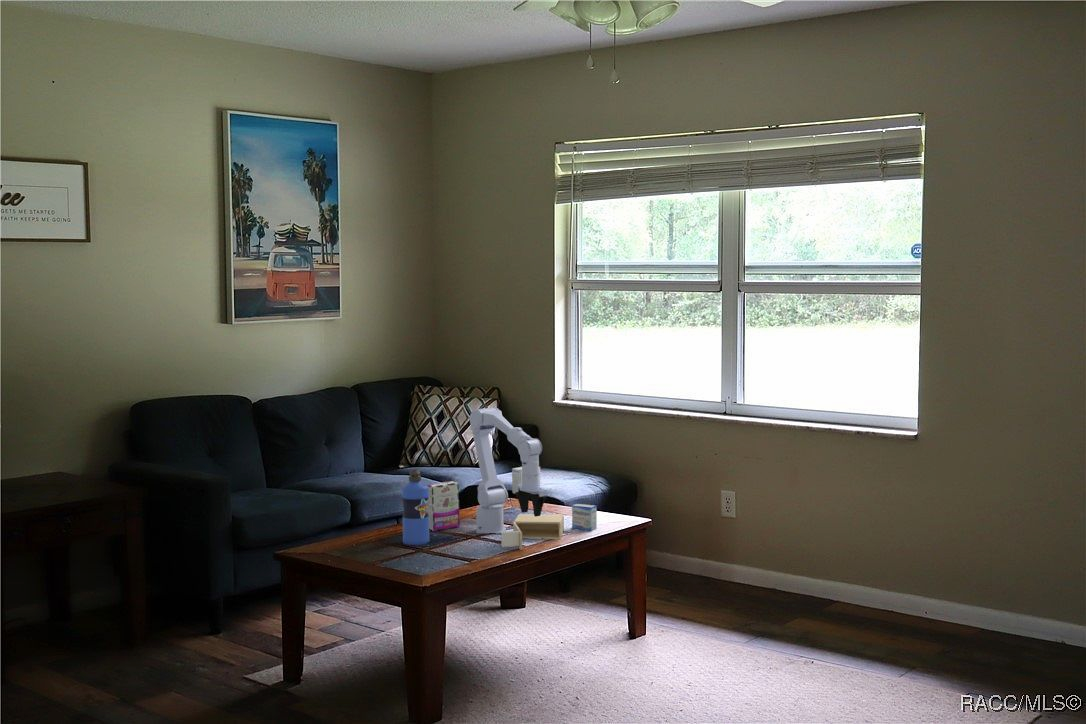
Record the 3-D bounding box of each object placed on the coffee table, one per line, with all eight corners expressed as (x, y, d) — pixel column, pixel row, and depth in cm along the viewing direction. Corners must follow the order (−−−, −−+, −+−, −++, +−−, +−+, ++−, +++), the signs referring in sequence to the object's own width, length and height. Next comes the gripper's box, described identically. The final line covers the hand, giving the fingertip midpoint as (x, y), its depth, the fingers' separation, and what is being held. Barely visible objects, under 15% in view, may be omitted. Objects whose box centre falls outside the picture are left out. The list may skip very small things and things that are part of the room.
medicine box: (571, 529, 382) (571, 505, 381) (577, 526, 386) (576, 503, 385) (591, 531, 378) (591, 507, 377) (597, 528, 382) (596, 505, 381)
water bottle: (435, 540, 367) (434, 468, 365) (417, 546, 359) (416, 473, 357) (414, 537, 372) (413, 466, 370) (396, 543, 364) (395, 470, 363)
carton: (514, 538, 369) (514, 521, 368) (519, 530, 381) (518, 514, 380) (560, 539, 367) (560, 522, 366) (563, 531, 379) (563, 514, 378)
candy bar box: (452, 524, 391) (452, 480, 390) (460, 527, 387) (459, 482, 386) (426, 529, 385) (425, 484, 383) (433, 531, 381) (432, 486, 379)
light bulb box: (531, 489, 457) (530, 464, 456) (541, 492, 451) (541, 466, 451) (511, 493, 450) (511, 467, 449) (521, 495, 445) (521, 469, 444)
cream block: (496, 539, 367) (495, 522, 367) (515, 538, 368) (514, 521, 368) (502, 550, 351) (502, 533, 351) (522, 549, 352) (521, 532, 352)
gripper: (508, 473, 367) (509, 512, 368) (533, 479, 355) (533, 519, 356) (525, 470, 371) (526, 509, 372) (550, 476, 359) (550, 516, 360)
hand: (530, 514), depth 364 cm, fingers open, 7 cm apart
